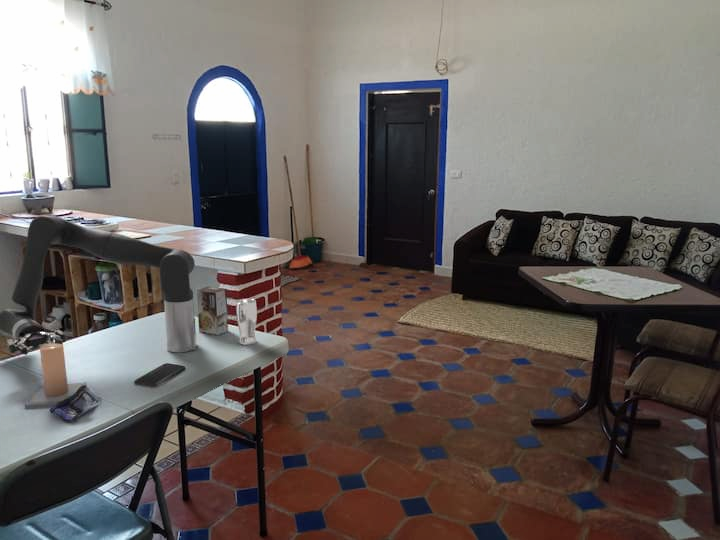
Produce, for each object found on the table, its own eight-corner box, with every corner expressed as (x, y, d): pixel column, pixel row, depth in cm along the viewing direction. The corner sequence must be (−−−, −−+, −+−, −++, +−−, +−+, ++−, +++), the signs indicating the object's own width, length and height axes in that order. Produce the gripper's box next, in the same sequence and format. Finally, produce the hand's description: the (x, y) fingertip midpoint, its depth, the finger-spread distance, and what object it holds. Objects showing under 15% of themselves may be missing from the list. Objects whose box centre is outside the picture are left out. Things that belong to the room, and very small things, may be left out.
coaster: (86, 385, 156) (86, 381, 156) (75, 404, 145) (74, 400, 145) (40, 389, 154) (39, 385, 154) (24, 408, 142) (24, 404, 142)
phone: (187, 366, 170) (155, 385, 156) (187, 369, 170) (155, 389, 156) (165, 362, 172) (132, 381, 158) (165, 366, 172) (132, 384, 158)
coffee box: (229, 330, 205) (227, 288, 202) (217, 335, 199) (216, 292, 196) (209, 327, 209) (207, 285, 205) (198, 331, 203) (196, 289, 200)
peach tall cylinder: (68, 386, 153) (63, 342, 150) (68, 394, 148) (63, 349, 145) (45, 390, 150) (40, 345, 148) (44, 398, 146) (39, 352, 143)
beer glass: (259, 339, 197) (258, 298, 193) (254, 346, 190) (253, 304, 186) (240, 338, 197) (239, 298, 194) (234, 345, 190) (233, 303, 187)
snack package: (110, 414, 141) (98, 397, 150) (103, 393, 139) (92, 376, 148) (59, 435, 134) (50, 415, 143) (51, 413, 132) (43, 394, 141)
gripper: (-1, 326, 161) (12, 340, 149) (53, 316, 170) (69, 329, 159) (3, 350, 163) (15, 366, 151) (56, 339, 172) (72, 353, 161)
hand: (43, 347), depth 155 cm, fingers open, 8 cm apart
